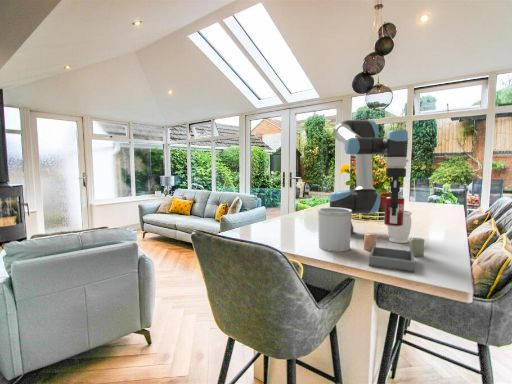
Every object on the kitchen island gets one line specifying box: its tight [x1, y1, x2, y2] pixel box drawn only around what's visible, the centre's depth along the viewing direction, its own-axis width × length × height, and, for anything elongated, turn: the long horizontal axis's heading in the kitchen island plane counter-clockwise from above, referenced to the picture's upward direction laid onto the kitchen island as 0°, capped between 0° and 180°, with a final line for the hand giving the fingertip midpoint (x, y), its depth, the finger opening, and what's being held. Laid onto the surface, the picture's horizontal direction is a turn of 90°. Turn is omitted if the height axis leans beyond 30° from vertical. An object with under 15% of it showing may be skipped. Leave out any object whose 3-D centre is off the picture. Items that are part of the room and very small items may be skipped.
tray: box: [368, 246, 415, 274], centre depth 105 cm, size 15×15×4 cm
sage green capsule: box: [409, 237, 426, 258], centre depth 114 cm, size 5×5×7 cm
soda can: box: [383, 196, 405, 227], centre depth 117 cm, size 7×7×12 cm
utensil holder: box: [317, 206, 353, 253], centre depth 126 cm, size 15×15×18 cm
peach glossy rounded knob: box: [363, 232, 378, 252], centre depth 123 cm, size 5×5×7 cm
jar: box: [386, 210, 413, 244], centre depth 137 cm, size 11×10×15 cm
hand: (393, 221), depth 118 cm, fingers closed on soda can, 7 cm apart
